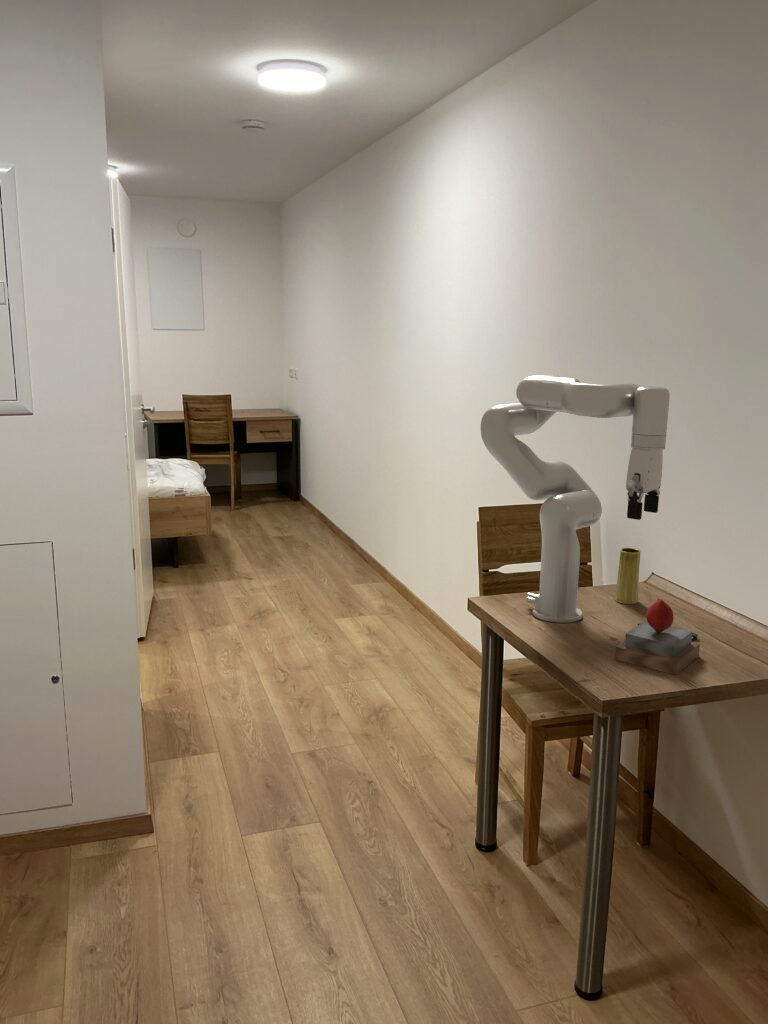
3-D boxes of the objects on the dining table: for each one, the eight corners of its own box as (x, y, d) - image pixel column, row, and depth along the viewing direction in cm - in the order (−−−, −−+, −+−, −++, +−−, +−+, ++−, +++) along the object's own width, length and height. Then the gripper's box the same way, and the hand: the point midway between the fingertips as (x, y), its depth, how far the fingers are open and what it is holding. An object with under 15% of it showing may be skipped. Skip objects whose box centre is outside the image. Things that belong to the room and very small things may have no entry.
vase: (642, 603, 235) (646, 552, 232) (621, 605, 233) (625, 553, 230) (631, 596, 241) (634, 546, 237) (610, 598, 239) (614, 547, 236)
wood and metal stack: (614, 659, 196) (616, 633, 194) (639, 642, 206) (641, 617, 205) (676, 675, 187) (678, 648, 186) (698, 656, 198) (701, 631, 197)
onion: (665, 627, 199) (667, 593, 197) (677, 636, 193) (679, 601, 192) (640, 628, 198) (643, 594, 196) (652, 637, 192) (654, 602, 191)
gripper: (647, 436, 207) (641, 507, 211) (616, 443, 194) (611, 519, 197) (678, 439, 203) (672, 511, 206) (649, 447, 189) (643, 524, 193)
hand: (642, 515), depth 202 cm, fingers open, 9 cm apart
